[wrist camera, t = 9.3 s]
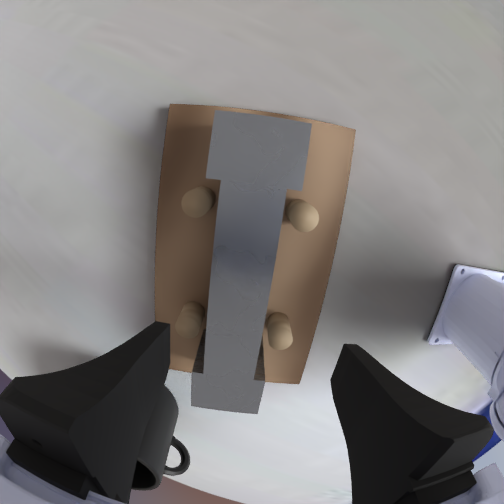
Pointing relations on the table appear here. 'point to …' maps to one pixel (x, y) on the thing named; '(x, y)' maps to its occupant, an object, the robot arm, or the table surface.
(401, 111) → the table surface
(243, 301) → the gray notched long block
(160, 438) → the mug
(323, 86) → the table surface
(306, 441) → the table surface
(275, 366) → the peg rack
